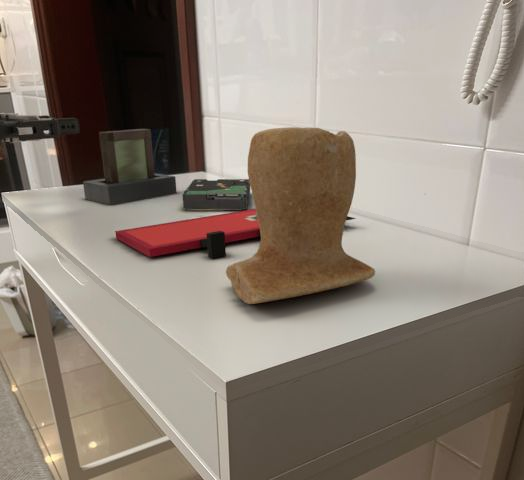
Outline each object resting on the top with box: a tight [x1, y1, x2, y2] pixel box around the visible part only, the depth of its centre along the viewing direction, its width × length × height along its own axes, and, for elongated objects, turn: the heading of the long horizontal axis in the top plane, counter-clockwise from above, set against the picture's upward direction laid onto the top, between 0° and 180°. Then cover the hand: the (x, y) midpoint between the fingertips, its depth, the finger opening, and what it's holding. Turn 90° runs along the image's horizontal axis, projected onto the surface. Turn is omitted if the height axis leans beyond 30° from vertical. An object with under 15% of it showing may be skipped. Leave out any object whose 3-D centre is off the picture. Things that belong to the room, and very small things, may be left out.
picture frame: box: [98, 128, 155, 184], centre depth 98 cm, size 9×2×11 cm, turn 137°
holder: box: [82, 172, 177, 206], centre depth 100 cm, size 8×14×3 cm, turn 137°
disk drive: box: [182, 178, 251, 211], centre depth 94 cm, size 10×3×15 cm
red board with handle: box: [114, 208, 357, 260], centre depth 74 cm, size 30×3×15 cm
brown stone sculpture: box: [225, 126, 376, 305], centre depth 53 cm, size 15×12×15 cm
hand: (63, 124), depth 88 cm, fingers open, 8 cm apart
